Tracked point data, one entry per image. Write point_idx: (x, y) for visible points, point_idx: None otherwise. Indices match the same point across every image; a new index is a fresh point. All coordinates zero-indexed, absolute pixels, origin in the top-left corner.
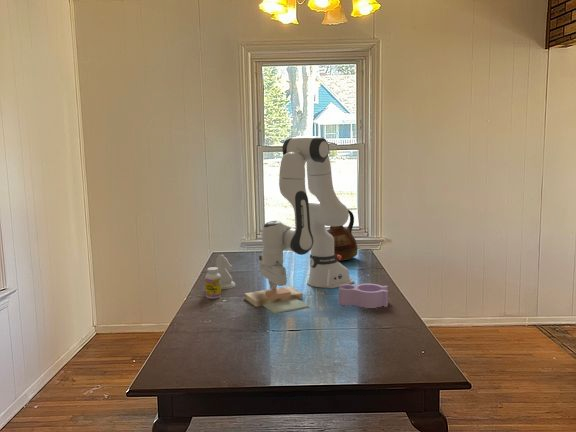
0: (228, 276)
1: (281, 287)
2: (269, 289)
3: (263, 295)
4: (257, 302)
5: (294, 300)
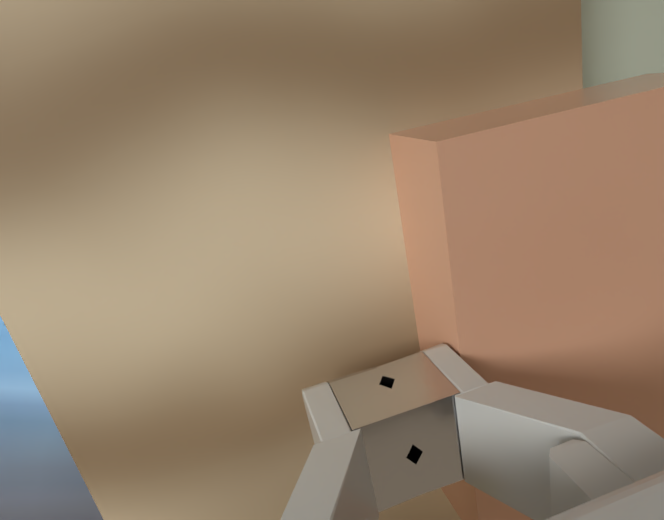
0: None
1: None
2: (73, 419)
3: (415, 515)
4: None
5: (604, 12)
